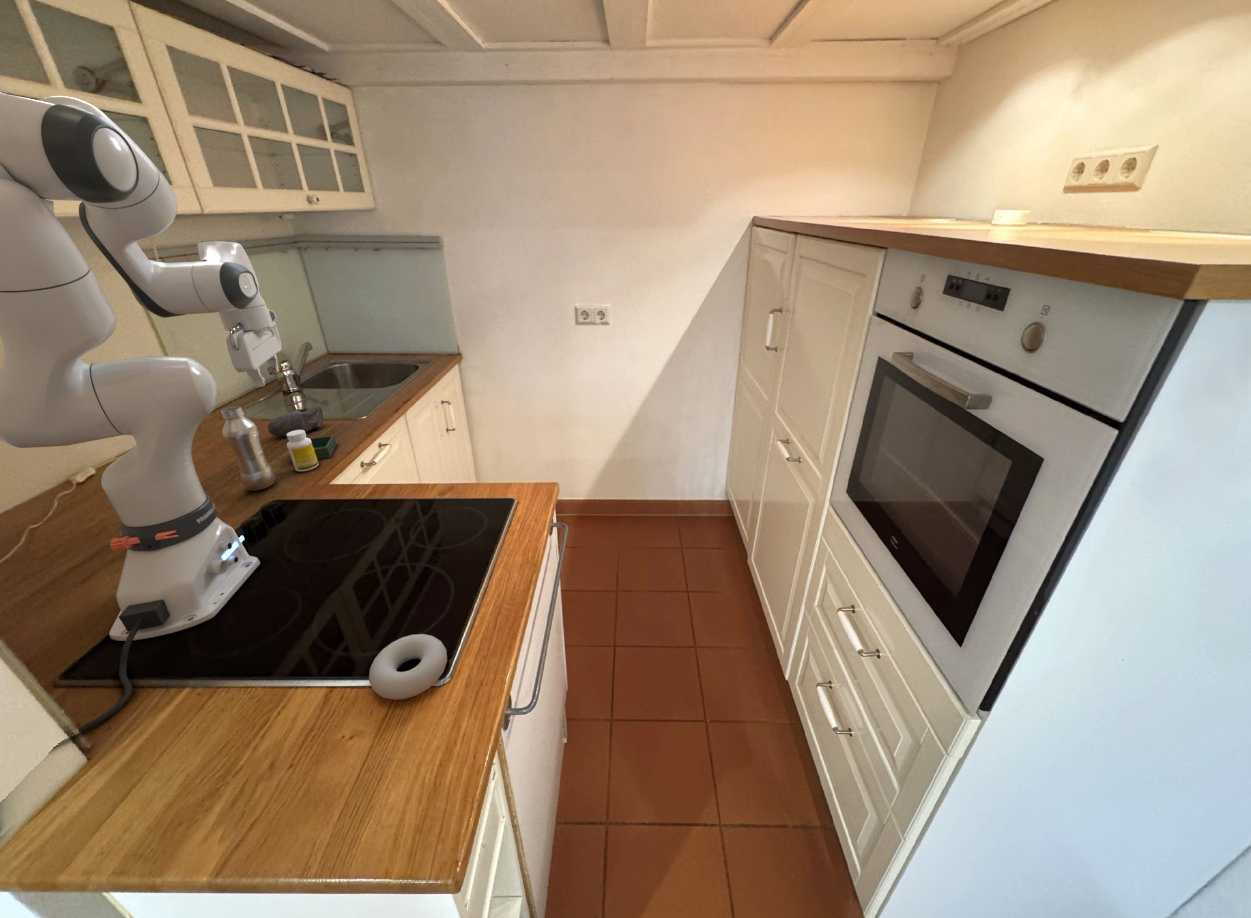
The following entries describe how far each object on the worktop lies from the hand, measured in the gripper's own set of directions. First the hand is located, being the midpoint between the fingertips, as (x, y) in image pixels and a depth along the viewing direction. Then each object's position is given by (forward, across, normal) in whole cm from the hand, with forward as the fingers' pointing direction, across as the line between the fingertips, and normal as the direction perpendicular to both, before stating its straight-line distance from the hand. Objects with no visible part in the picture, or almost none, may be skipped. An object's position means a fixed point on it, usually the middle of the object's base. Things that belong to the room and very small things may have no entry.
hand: (268, 379), depth 117 cm
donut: (+23, -77, -33) cm, 87 cm away
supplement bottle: (+24, +1, -1) cm, 24 cm away
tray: (+24, +10, -1) cm, 26 cm away
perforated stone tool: (+25, +29, +8) cm, 39 cm away
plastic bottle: (+24, -7, +7) cm, 26 cm away
